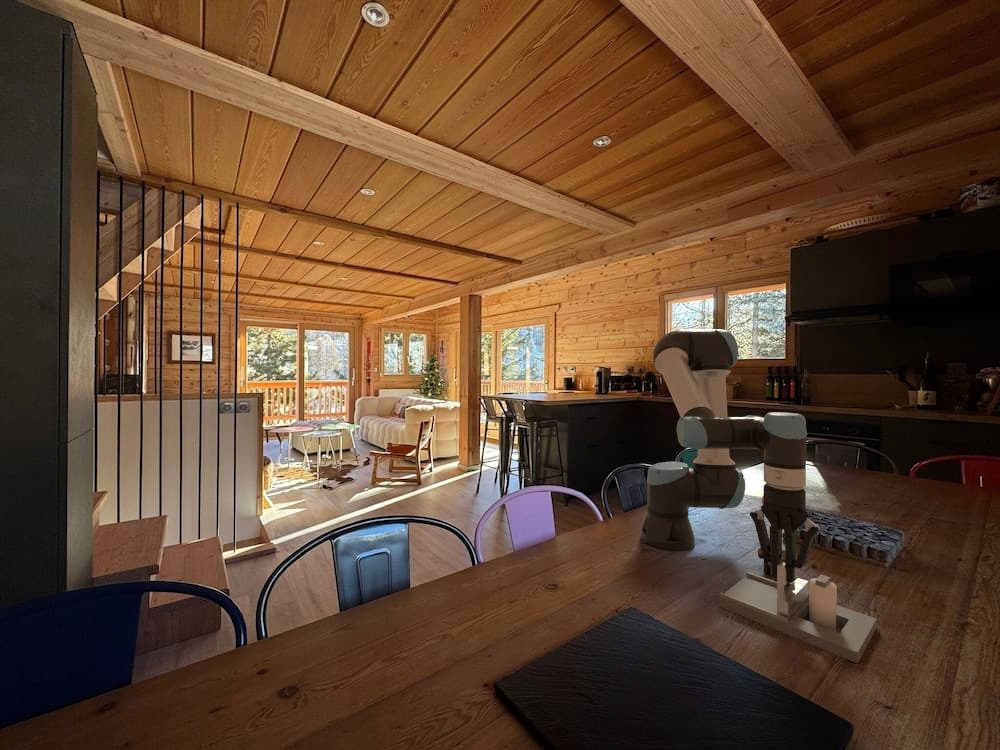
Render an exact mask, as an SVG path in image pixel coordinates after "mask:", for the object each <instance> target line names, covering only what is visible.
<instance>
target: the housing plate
mask: <svg viewBox="0 0 1000 750" xmlns="http://www.w3.org/2000/svg"><path fill="white" fill-rule="evenodd" d="M778 597H779V596H777V581H775V580H773V579H769V578H766V577H764V576H761V575H759V574H758V575H757V574H754V573H751V572H749V571H747V572H746V575H745V576H744V577H743V578H742V579H740V580H739V581H738V582H737V583H735V584H734V585H733V586H731V588H729V589H728V590H726V591H725V592H724V593H723V592H722V591H720V592H719V597H718V607H720V608H721V609H724V610H726V611H729V612H732V613H734V614H737V615H738V616H741V617H744V618H745V619H746V618H747V619H748V620H751V621H754V622H756V623H758V624H760V625H763V626H765V627H768V628H770V629H773V630H775V631H778V632H780V633H782V634H785V635H787V636H790V637H792V638H795V639H798V640H800V641H802V642H804V643H807V644H809V645H811V646H814V647H816V648H818V649H822V650H824V651H826V652H829V653H830V654H833V655H836V656H837V657H841V658H843V659H845V660H848V661H850V662H853V663H854V664H859V663H860V660H861V658H862V656H864V655H863V654H864V652H865V651H866V649H867V648H868V646H869V643H870V641H871V639H872V638H873V636H874V634H875V632H876V631H877V629H878V627H877V625H878V623H877V622H878V619H877V618H876V617H873V616H869V615H867V614H864V613H862V612H859V611H855V610H852V609H849V608H847V607H845V606H841V605H838V604H837V605H836V626H839V627H842V629H841V631H840V632H837V630H836V631H833V630H830V629H828V628H825V627H822V626H820V625H817V624H814V623H812V622H809V620H808V619H807V620H806V619H805V618H806V617H807V616H808V615H809V592H808V598H807V599H806V600H805V601H804V602H803V604H802V605H801V606H800V607H799V608H798V609H797V610H796V611H795V612H794V614H793V615H792V616H791V617H790V618H789V619H788V618H786V617H783V616H781V615H778V614H777V598H778Z"/></svg>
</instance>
